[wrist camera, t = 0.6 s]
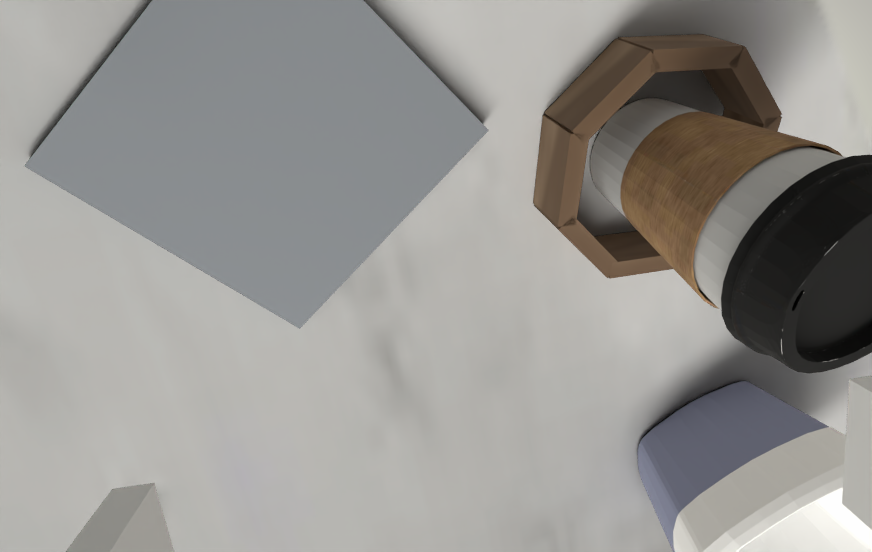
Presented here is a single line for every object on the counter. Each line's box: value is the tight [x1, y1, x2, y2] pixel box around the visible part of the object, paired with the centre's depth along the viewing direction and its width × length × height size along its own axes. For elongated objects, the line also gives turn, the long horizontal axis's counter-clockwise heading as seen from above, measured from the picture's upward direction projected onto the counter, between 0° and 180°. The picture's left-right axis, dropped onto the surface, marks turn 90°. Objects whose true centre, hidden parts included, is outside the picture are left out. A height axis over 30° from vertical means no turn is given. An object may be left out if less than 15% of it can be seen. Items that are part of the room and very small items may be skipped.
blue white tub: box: [638, 381, 872, 552], centre depth 45 cm, size 15×15×11 cm
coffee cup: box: [590, 98, 872, 373], centre depth 27 cm, size 8×8×15 cm
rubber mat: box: [25, 0, 489, 329], centre depth 27 cm, size 14×14×1 cm
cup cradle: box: [533, 34, 782, 278], centre depth 32 cm, size 12×12×3 cm
